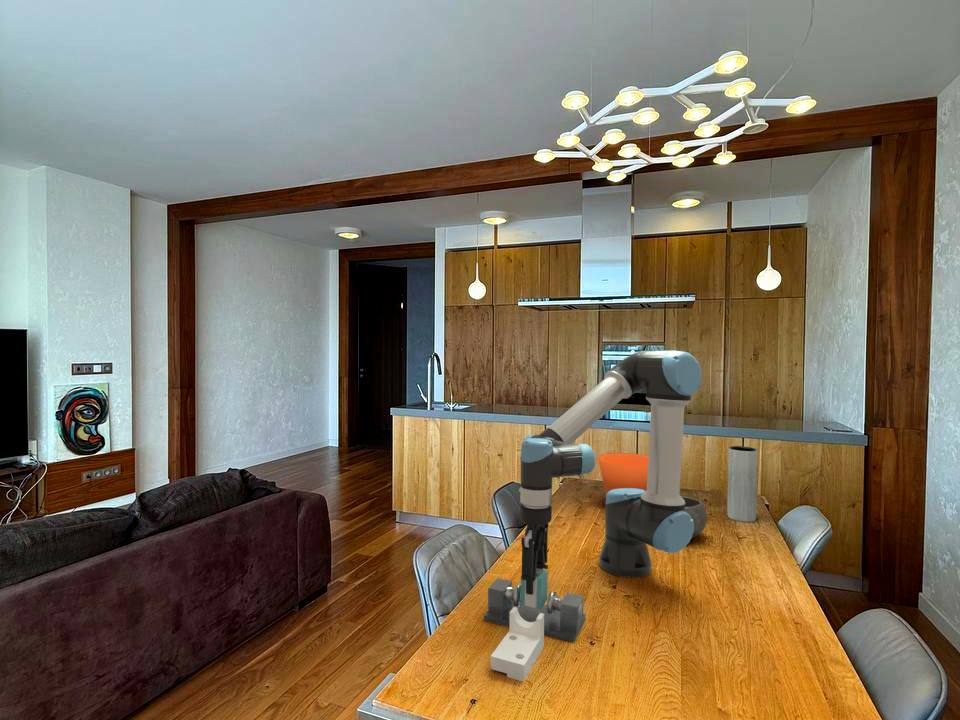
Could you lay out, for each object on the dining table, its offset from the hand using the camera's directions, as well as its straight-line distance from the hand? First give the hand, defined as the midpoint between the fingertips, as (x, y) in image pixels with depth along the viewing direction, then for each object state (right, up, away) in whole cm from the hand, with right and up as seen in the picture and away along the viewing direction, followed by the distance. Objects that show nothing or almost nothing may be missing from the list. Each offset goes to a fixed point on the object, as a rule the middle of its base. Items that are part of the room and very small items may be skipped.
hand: (534, 600), depth 123 cm
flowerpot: (+48, -3, +89) cm, 101 cm away
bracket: (-5, -5, -15) cm, 17 cm away
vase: (+88, -4, +76) cm, 116 cm away
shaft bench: (0, -5, 0) cm, 5 cm away
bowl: (+56, -4, +56) cm, 79 cm away
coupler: (0, 0, 0) cm, 0 cm away
